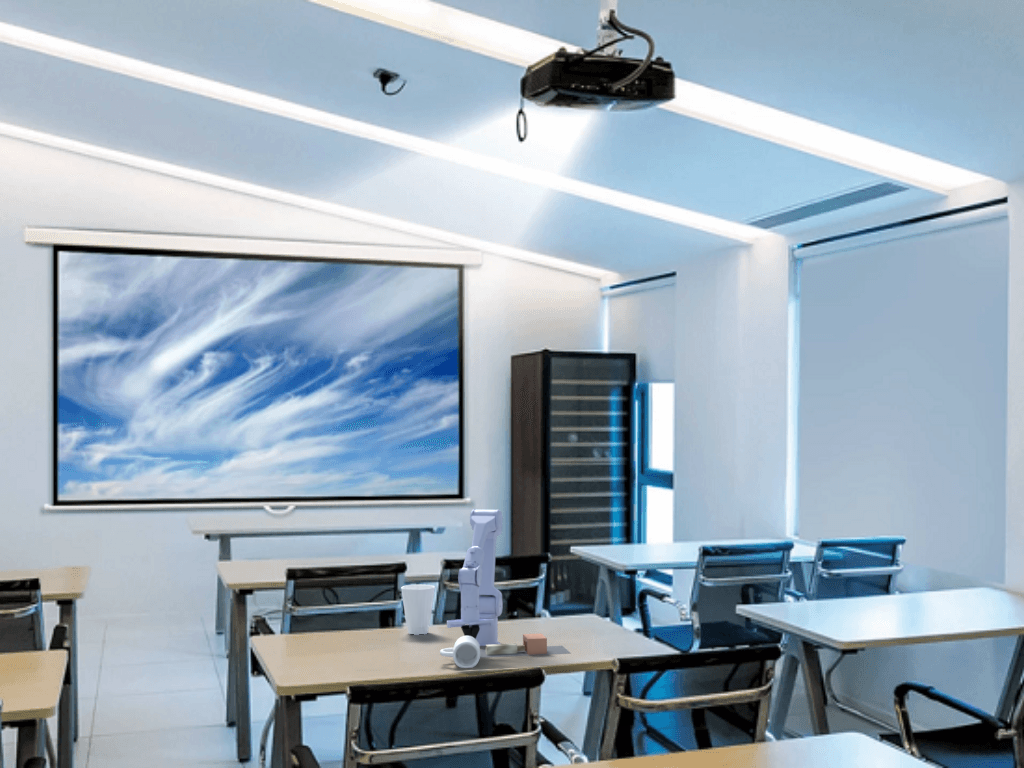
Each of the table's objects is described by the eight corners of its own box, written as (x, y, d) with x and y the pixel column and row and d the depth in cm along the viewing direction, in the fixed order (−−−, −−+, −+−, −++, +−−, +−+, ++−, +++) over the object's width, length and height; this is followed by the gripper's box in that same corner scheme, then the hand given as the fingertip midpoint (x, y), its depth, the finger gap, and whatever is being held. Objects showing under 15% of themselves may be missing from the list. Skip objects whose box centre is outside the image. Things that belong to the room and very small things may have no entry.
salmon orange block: (528, 654, 327) (528, 639, 327) (523, 649, 335) (522, 634, 335) (547, 653, 328) (546, 638, 328) (541, 648, 336) (541, 633, 336)
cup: (398, 631, 370) (397, 585, 370) (431, 629, 373) (430, 583, 374) (404, 637, 358) (404, 590, 359) (438, 635, 362) (438, 588, 363)
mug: (480, 661, 320) (479, 635, 320) (480, 669, 310) (479, 641, 310) (440, 662, 320) (440, 635, 320) (439, 669, 310) (439, 642, 310)
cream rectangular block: (487, 654, 327) (486, 646, 327) (485, 653, 330) (485, 644, 330) (525, 652, 330) (525, 644, 330) (523, 651, 332) (523, 642, 332)
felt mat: (469, 659, 323) (469, 658, 323) (464, 651, 334) (464, 650, 334) (571, 654, 329) (571, 653, 329) (562, 646, 340) (562, 645, 340)
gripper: (448, 608, 323) (448, 653, 322) (495, 607, 326) (495, 651, 325) (445, 605, 330) (446, 649, 329) (491, 603, 333) (491, 646, 332)
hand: (470, 650), depth 328 cm, fingers closed
